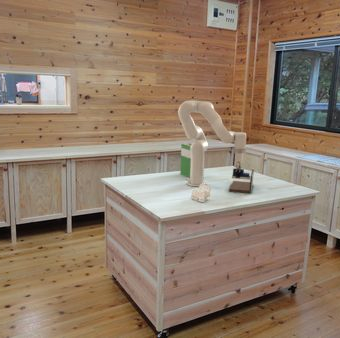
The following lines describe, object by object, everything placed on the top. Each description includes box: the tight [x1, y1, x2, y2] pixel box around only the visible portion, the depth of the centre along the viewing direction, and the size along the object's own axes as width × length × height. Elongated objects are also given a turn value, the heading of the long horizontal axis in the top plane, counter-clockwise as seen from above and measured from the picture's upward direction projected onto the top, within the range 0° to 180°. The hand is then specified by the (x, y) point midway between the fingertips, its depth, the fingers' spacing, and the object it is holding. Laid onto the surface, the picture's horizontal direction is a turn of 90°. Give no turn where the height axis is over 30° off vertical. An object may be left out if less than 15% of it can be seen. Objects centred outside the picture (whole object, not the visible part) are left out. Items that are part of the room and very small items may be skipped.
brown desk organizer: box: [229, 168, 255, 195], centre depth 264 cm, size 14×24×12 cm, turn 166°
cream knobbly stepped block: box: [190, 184, 211, 203], centre depth 235 cm, size 12×6×11 cm, turn 40°
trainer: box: [231, 167, 251, 181], centre depth 259 cm, size 12×5×6 cm, turn 76°
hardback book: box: [179, 143, 192, 178], centre depth 295 cm, size 18×7×24 cm, turn 30°
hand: (238, 176), depth 260 cm, fingers closed on trainer, 5 cm apart
